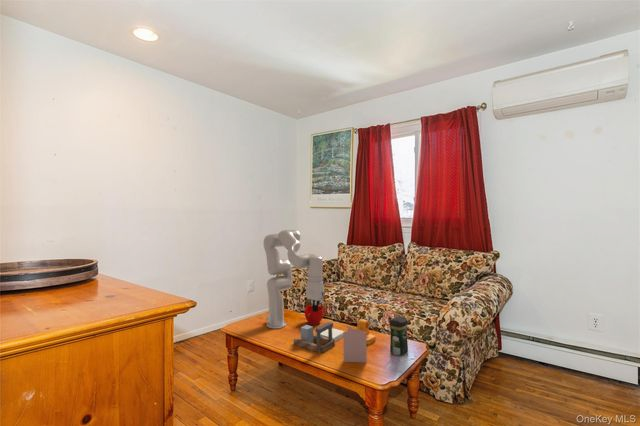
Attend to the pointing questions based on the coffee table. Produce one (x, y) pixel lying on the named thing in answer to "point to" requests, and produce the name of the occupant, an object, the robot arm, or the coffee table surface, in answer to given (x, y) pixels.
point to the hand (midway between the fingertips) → (315, 311)
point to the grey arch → (323, 328)
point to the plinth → (333, 334)
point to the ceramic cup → (313, 314)
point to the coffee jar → (398, 336)
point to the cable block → (307, 333)
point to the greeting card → (354, 346)
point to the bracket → (366, 330)
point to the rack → (314, 347)
